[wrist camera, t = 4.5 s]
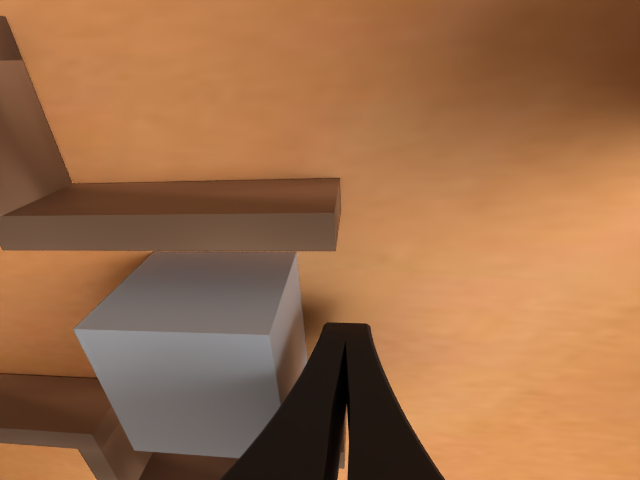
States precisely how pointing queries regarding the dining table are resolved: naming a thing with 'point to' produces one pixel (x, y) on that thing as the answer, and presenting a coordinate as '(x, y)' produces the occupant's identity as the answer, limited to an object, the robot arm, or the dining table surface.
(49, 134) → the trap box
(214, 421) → the block
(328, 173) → the dining table surface
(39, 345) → the dining table surface
